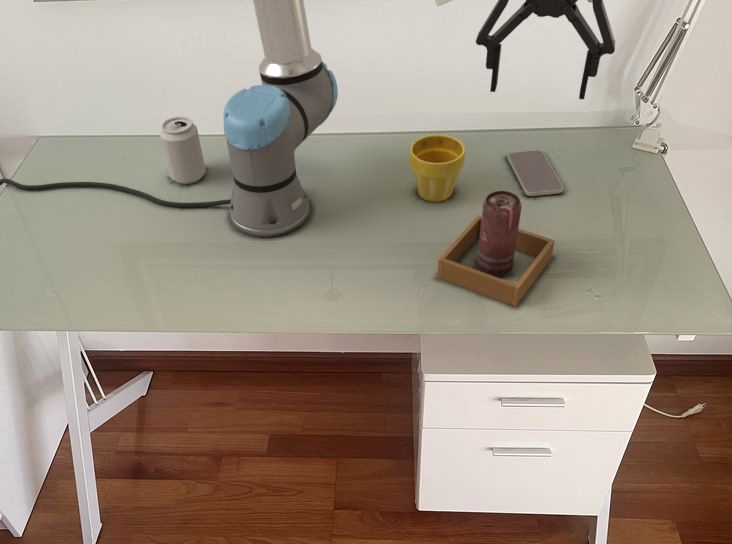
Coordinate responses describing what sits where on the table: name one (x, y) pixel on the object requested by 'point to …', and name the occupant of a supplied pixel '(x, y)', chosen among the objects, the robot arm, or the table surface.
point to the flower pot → (436, 165)
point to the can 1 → (182, 150)
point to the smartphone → (534, 173)
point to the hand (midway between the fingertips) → (537, 91)
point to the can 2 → (498, 233)
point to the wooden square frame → (487, 282)
